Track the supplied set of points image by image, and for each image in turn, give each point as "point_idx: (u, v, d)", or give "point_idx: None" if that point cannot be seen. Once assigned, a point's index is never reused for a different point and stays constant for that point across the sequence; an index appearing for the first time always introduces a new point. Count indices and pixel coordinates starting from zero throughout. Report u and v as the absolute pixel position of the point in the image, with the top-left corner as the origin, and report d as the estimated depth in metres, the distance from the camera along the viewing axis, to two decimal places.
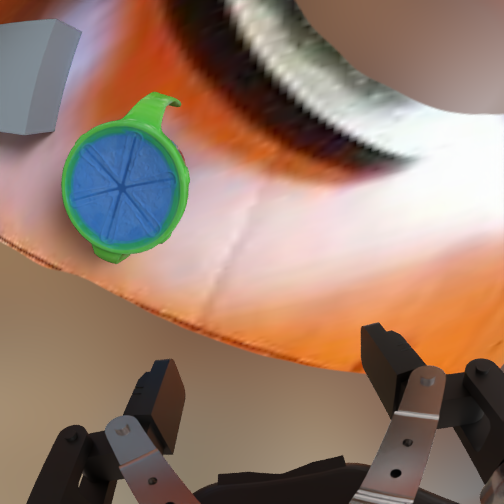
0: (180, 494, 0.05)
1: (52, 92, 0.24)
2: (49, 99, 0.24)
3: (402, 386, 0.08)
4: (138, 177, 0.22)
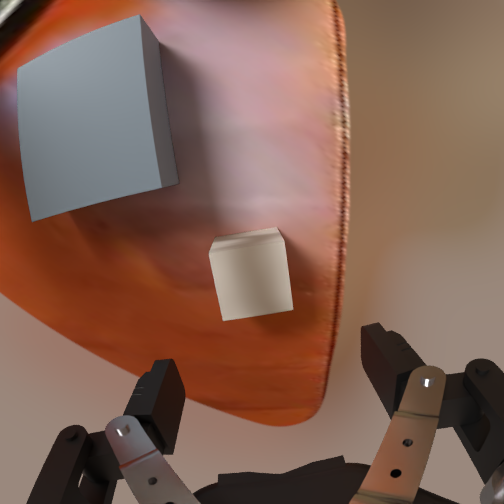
0: (180, 494, 0.05)
1: None
2: None
3: (402, 386, 0.08)
4: None
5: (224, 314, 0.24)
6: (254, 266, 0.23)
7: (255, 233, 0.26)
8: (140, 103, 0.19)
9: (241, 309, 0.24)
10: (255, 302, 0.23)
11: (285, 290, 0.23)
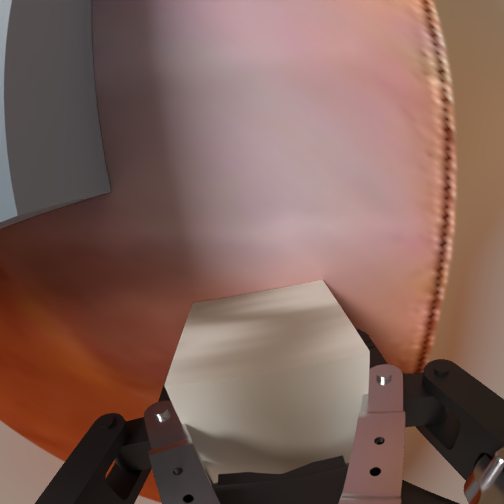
0: (201, 488, 0.05)
1: None
2: None
3: None
4: None
5: (217, 480, 0.09)
6: (285, 410, 0.08)
7: (281, 302, 0.11)
8: None
9: None
10: (285, 465, 0.09)
11: (353, 440, 0.08)
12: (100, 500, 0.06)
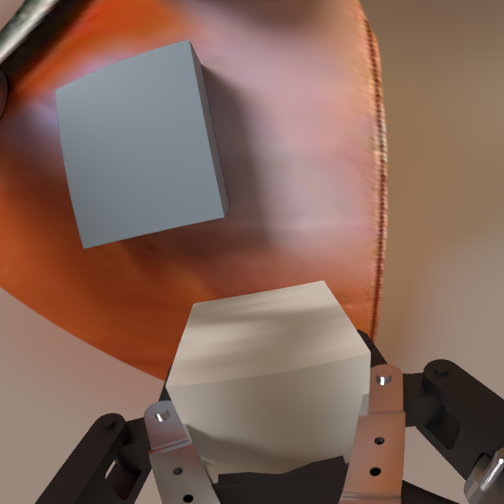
0: (201, 488, 0.05)
1: None
2: None
3: None
4: None
5: None
6: (286, 411, 0.08)
7: (281, 303, 0.11)
8: (198, 133, 0.21)
9: None
10: (286, 465, 0.09)
11: None
12: (100, 500, 0.06)
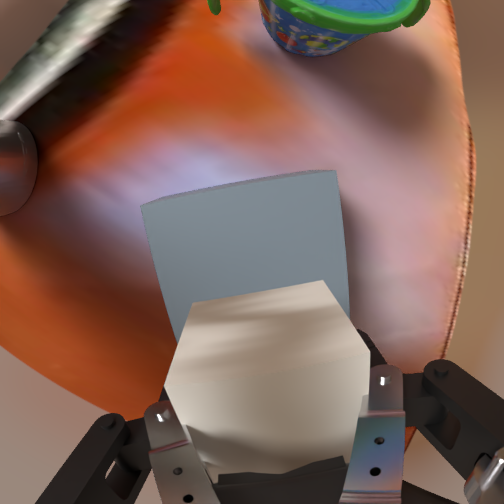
0: (201, 488, 0.05)
1: (259, 179, 0.21)
2: (270, 177, 0.21)
3: None
4: None
5: (217, 481, 0.09)
6: (285, 411, 0.08)
7: (281, 302, 0.11)
8: (340, 290, 0.20)
9: None
10: (285, 465, 0.09)
11: (353, 441, 0.08)
12: (100, 500, 0.06)
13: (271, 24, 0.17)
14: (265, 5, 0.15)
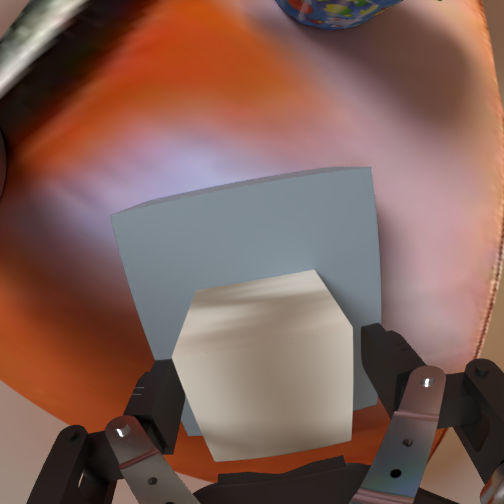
0: (180, 494, 0.05)
1: (267, 178, 0.17)
2: (281, 176, 0.16)
3: (402, 386, 0.08)
4: None
5: (216, 453, 0.10)
6: (279, 381, 0.09)
7: (276, 288, 0.13)
8: (371, 322, 0.15)
9: (249, 447, 0.10)
10: (280, 437, 0.10)
11: (342, 414, 0.10)
12: None
13: None
14: None
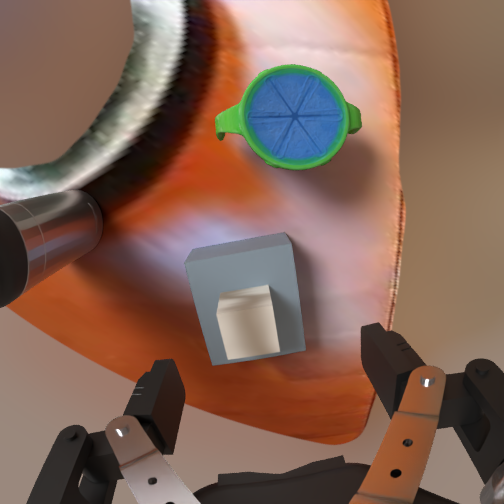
0: (180, 494, 0.05)
1: (250, 242, 0.37)
2: (256, 242, 0.37)
3: (402, 386, 0.08)
4: (280, 105, 0.27)
5: (228, 355, 0.31)
6: (250, 322, 0.30)
7: (251, 292, 0.34)
8: (295, 307, 0.36)
9: (241, 351, 0.31)
10: (252, 347, 0.31)
11: (273, 338, 0.31)
12: None
13: None
14: None
